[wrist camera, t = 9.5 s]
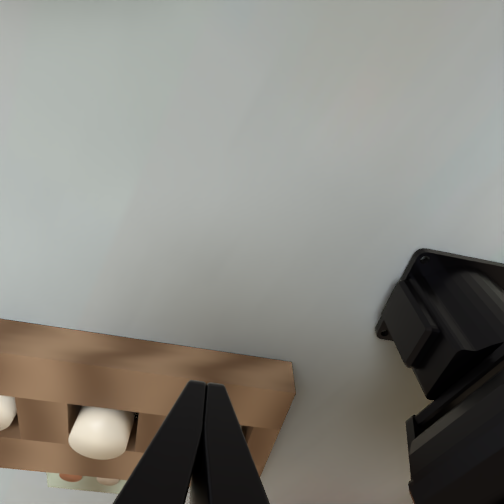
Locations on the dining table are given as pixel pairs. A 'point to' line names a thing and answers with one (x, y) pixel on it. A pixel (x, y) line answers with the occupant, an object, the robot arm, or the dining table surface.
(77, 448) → the off-white egg
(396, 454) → the dining table surface
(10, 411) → the cream egg
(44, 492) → the dining table surface
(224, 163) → the dining table surface
